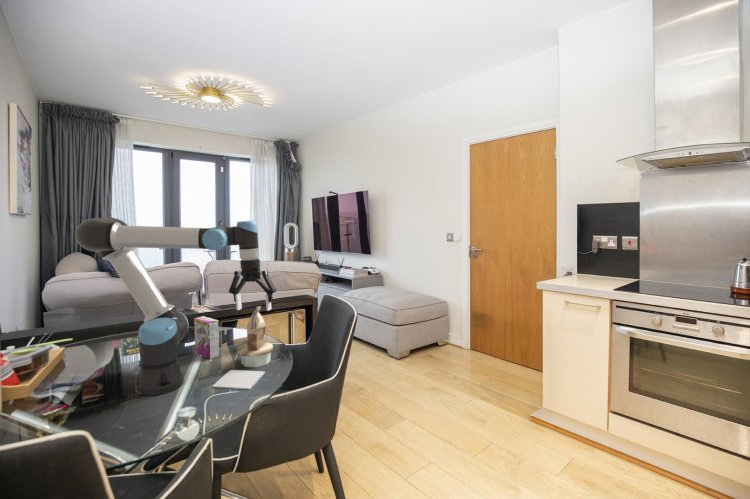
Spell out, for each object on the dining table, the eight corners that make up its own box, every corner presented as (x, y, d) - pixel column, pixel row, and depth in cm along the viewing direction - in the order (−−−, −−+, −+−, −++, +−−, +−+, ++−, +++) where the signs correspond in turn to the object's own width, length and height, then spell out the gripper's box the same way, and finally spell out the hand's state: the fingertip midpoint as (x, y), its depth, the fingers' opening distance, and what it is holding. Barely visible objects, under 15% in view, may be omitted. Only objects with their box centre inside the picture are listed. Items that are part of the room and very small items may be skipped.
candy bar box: (194, 354, 161) (193, 318, 160) (204, 351, 165) (203, 315, 164) (209, 360, 155) (208, 322, 154) (220, 356, 159) (219, 319, 158)
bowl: (237, 366, 149) (237, 354, 149) (249, 356, 160) (248, 345, 160) (263, 367, 148) (263, 355, 148) (273, 357, 159) (273, 346, 159)
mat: (212, 387, 131) (212, 386, 131) (230, 370, 145) (230, 369, 145) (249, 389, 130) (249, 388, 129) (265, 372, 143) (265, 371, 143)
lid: (231, 355, 147) (231, 336, 146) (247, 343, 161) (246, 325, 160) (265, 357, 146) (265, 337, 145) (277, 345, 160) (277, 326, 159)
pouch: (263, 354, 163) (262, 312, 161) (244, 355, 161) (243, 313, 159) (267, 335, 187) (266, 299, 185) (250, 336, 185) (249, 300, 183)
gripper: (282, 257, 149) (286, 307, 151) (227, 258, 154) (232, 306, 157) (273, 259, 142) (277, 312, 144) (216, 260, 147) (221, 311, 149)
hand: (254, 309), depth 150 cm, fingers open, 13 cm apart
